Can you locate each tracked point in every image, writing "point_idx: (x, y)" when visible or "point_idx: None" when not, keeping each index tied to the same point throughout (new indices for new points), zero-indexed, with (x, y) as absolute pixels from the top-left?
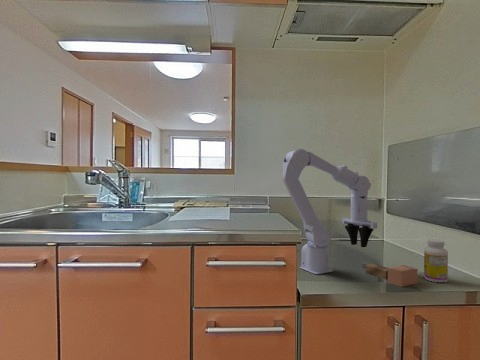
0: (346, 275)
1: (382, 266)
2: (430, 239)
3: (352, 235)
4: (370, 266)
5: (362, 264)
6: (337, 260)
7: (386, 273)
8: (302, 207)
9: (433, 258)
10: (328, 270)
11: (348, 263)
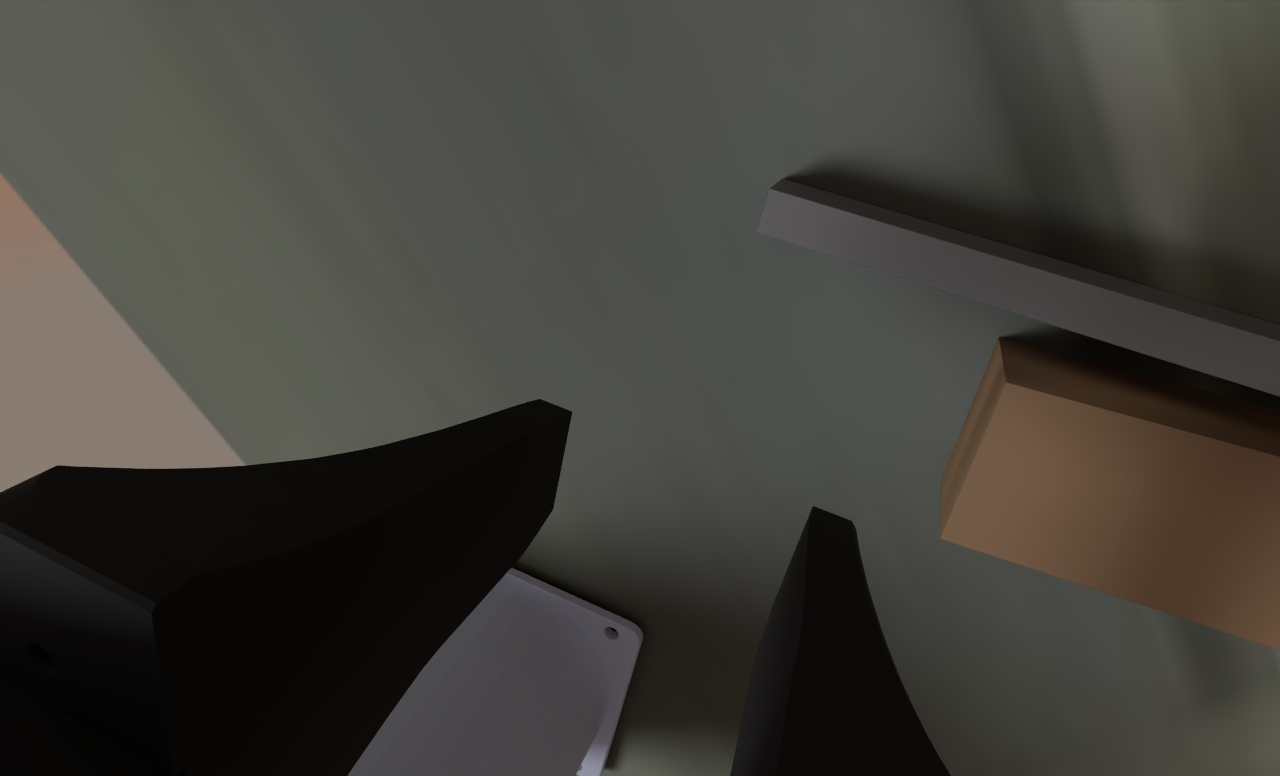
0: None
1: (1217, 443)
2: None
3: (425, 635)
4: (1025, 547)
5: (765, 227)
6: (367, 135)
7: None
8: None
9: None
10: (611, 665)
11: (539, 170)
